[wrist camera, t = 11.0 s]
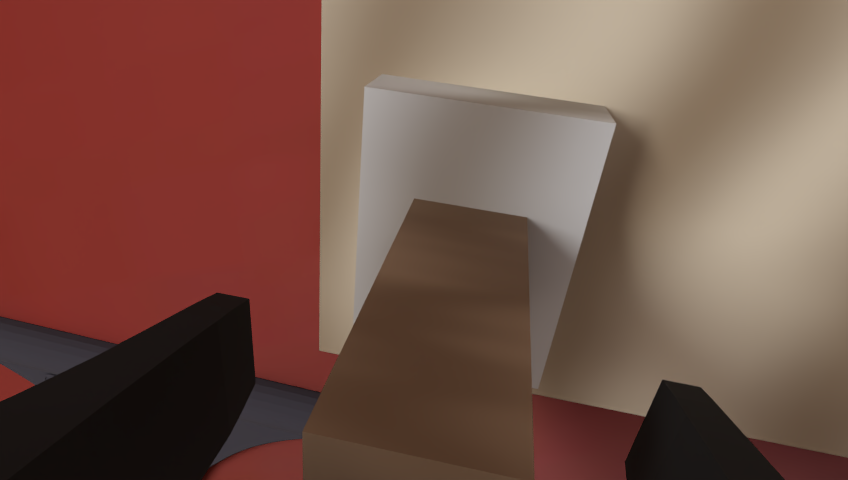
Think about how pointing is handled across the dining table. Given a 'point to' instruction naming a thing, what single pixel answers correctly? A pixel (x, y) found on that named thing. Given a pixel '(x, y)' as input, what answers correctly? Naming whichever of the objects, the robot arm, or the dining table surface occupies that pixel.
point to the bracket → (59, 351)
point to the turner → (455, 280)
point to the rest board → (649, 189)
